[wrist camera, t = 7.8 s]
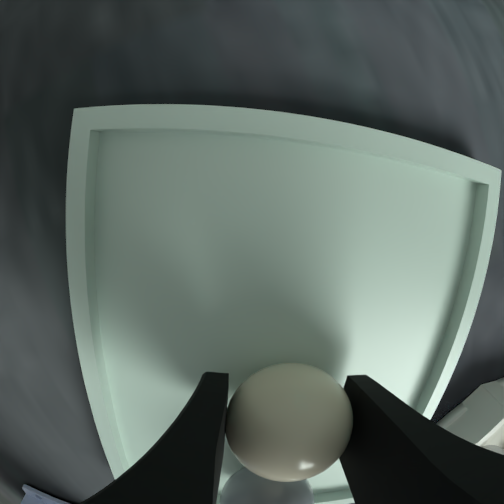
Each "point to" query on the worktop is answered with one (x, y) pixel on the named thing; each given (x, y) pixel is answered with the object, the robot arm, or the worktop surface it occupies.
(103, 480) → the worktop surface
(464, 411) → the stoneware bowl
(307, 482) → the pebble slate
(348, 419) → the beige round ball
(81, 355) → the parts tray
